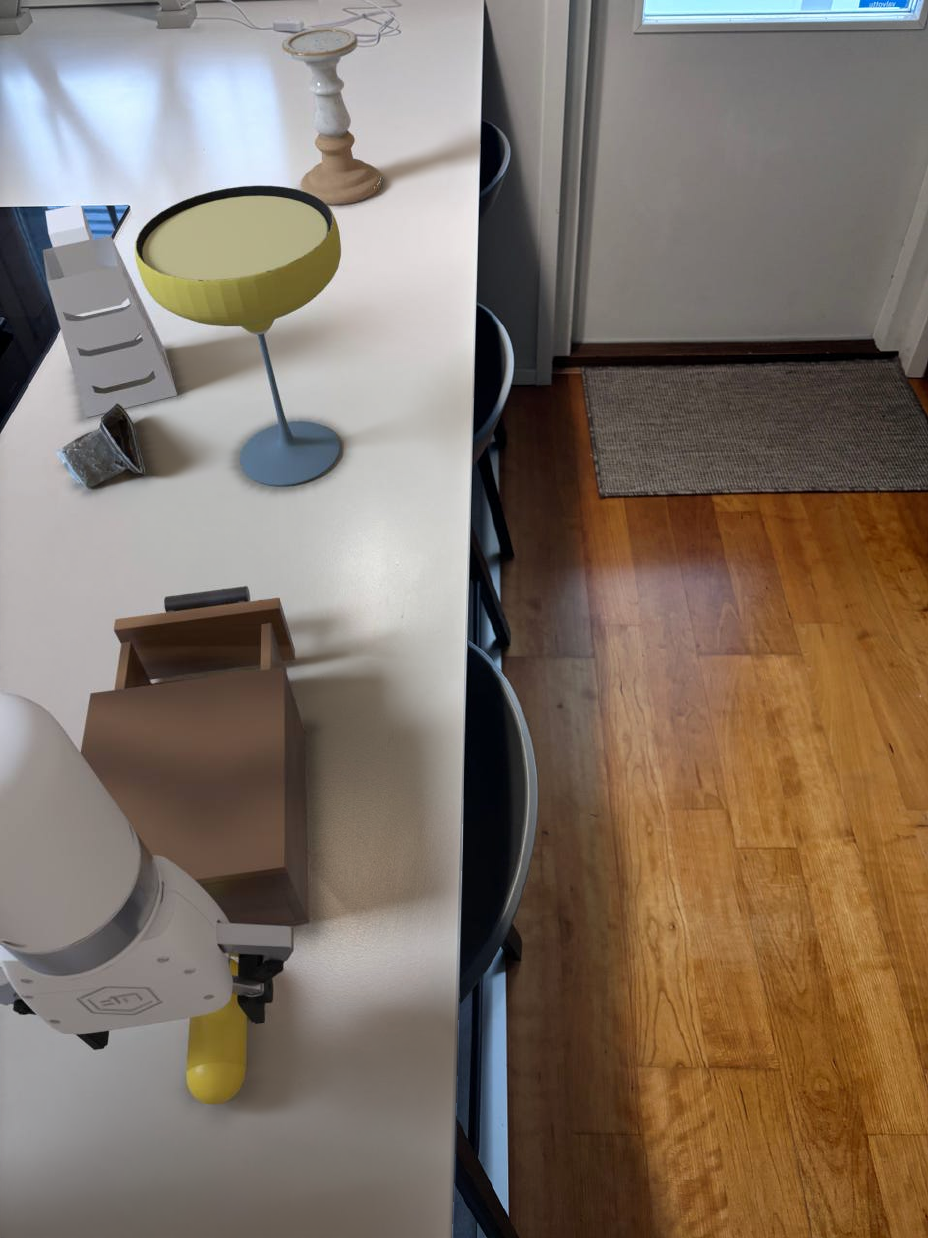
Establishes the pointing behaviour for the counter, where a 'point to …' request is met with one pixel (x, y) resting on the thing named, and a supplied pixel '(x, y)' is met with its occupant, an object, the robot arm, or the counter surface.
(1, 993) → the robot arm
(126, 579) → the counter surface
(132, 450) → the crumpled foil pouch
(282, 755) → the cabinet
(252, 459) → the cocktail glass
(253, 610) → the drawer
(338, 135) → the candle holder
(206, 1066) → the yellow pill capsule
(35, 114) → the counter surface
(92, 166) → the counter surface
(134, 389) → the grater
